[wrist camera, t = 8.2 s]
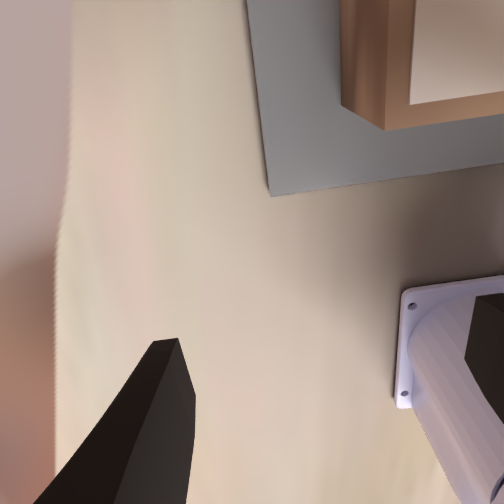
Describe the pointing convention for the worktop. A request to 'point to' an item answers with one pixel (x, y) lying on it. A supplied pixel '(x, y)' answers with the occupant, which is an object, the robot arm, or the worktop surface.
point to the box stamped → (421, 60)
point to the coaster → (340, 111)
